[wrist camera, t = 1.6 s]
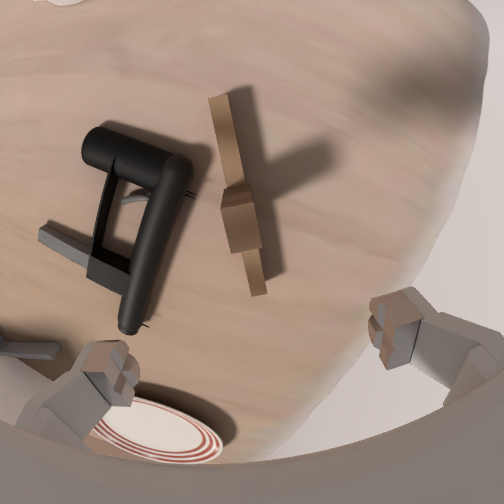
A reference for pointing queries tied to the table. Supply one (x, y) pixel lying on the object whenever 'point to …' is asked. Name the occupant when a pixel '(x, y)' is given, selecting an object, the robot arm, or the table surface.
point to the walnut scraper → (237, 198)
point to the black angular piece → (151, 228)
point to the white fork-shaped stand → (17, 387)
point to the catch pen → (29, 349)
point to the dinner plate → (159, 433)
